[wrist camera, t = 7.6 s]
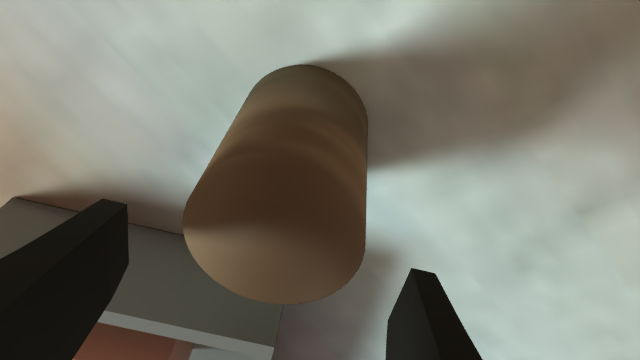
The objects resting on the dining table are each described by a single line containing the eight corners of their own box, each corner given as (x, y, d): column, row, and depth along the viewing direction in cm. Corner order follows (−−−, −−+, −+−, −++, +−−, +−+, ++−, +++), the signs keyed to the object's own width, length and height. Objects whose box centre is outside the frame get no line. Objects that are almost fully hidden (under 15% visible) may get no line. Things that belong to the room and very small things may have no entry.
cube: (198, 288, 23) (160, 377, 19) (192, 348, 26) (158, 438, 22) (100, 266, 23) (39, 352, 19) (104, 329, 26) (52, 416, 22)
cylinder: (383, 82, 17) (388, 187, 11) (350, 190, 20) (341, 319, 14) (251, 50, 17) (187, 140, 11) (236, 163, 20) (178, 283, 14)
